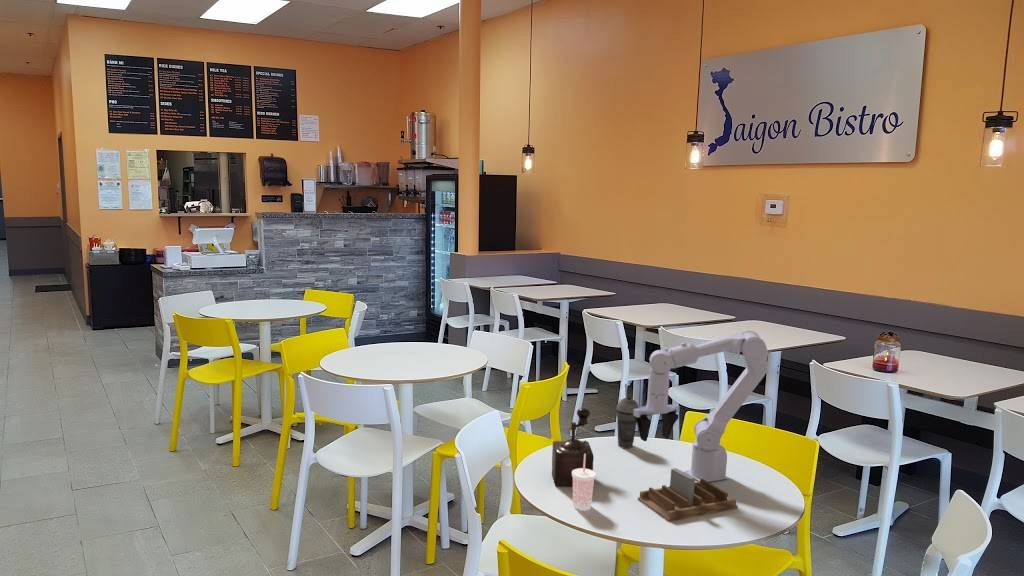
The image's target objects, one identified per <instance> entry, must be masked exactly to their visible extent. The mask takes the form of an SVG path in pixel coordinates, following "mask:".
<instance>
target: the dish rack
mask: <svg viewBox="0 0 1024 576" xmlns="http://www.w3.org/2000/svg"><path fill="white" fill-rule="evenodd" d="M637 501H638V502H640V503H642V504H643V505H645V506H646V507H647V508H649V510H651V511H652V512H654V513H656V514H657V515H658V516H660V517H661V518H662V519H664V520H665V521H666V522H673V521H677V520H683V519H688V518H694V517H698V516H704V515H710V514H715V513H720V512H724V511H729V510H733V509H735V510H736V509H738V505H737V499H736V498H731V499H729V493H727V492H725V491H724V490H723V489H721V488H719V487H717V486H716V485H715V484H713V483H710V482H707V481H706V480H704V479H700V482H699V481H695V486H694V498H693V507H688V505H689V501H688V500H687V499H685V498H684V497H682V496H681V495H679V494H677V493H676V492H674V491H673V490H671V489H670V486H667V485H666V484H665V485H664V484H663V485H661V487H659V488H653V487H648V490H642V491H639V497H637Z"/></svg>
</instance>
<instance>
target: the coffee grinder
mask: <svg viewBox="0 0 1024 576" xmlns="http://www.w3.org/2000/svg"><path fill="white" fill-rule="evenodd" d="M576 415H577V417H578V418H579V420H578V422H577V423H576V422H575V421H572V422H571V424H570V426H569V429H570V430H571V437H570V439H566V440H558V441H557V440H554V441H552V449H551V451H552V452H551V453H552V456H551V459H552V460H551V477H552V481H553V480H554V481H553V483H554V486H555V487H559V488H573V477H572V471H573V470H574V469H578V468H583V463H584V454H586V460H585V469H590V470H592V471H594V454H593V453H594V452H593V450H592V448H591V445H590V442H589V441H586V440H580V439H578V438H577V439H576V430H577V428H579V427H584V426H585V425H589V422H588V419H589V417H590V416H591V411H590V410H589V409H588V408H586V407H581V408H579V409H577V411H576Z"/></svg>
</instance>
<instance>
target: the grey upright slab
mask: <svg viewBox="0 0 1024 576" xmlns="http://www.w3.org/2000/svg"><path fill="white" fill-rule="evenodd" d="M695 482H696V480H695V478H694V477H692V476H690V475H689V474H687V473H685V472H684V471H682V470H681V469H679V468H677V467H674V468H671V470H670V481H669V487H670V489H671V490H673V491H674V492H676V493H677V494H679V495H681V496H682V497H684V498H685V499H687V500H688V501H689V505H688V507H693V498H694V486H695Z"/></svg>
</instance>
